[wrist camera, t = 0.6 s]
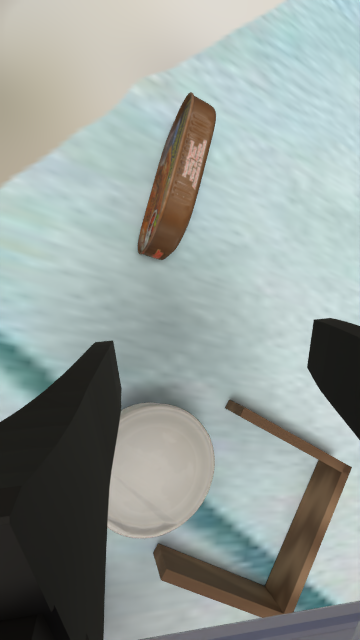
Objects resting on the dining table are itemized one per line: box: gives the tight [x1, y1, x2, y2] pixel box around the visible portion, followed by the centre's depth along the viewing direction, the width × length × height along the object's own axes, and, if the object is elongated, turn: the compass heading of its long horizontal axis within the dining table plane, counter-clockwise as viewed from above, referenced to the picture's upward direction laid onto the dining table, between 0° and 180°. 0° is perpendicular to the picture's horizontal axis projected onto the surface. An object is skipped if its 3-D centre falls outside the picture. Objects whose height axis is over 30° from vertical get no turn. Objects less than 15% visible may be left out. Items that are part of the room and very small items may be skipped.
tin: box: [138, 92, 216, 260], centre depth 29 cm, size 15×3×8 cm, turn 165°
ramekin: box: [107, 402, 215, 538], centre depth 29 cm, size 11×11×5 cm
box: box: [153, 400, 352, 618], centre depth 33 cm, size 17×15×4 cm
